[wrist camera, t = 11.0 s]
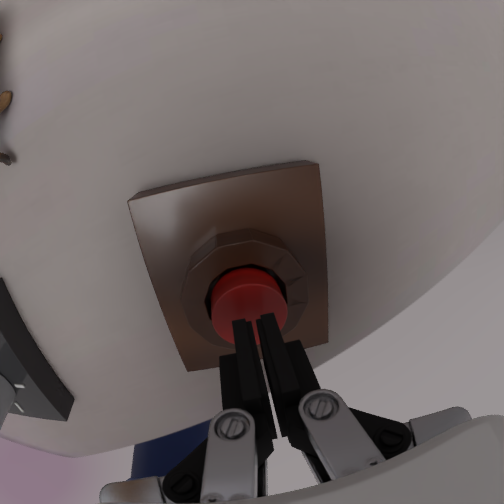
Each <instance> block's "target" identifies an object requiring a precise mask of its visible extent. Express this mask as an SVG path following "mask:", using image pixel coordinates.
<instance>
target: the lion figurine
mask: <svg viewBox="0 0 504 504" xmlns="http://www.w3.org/2000/svg"><path fill="white" fill-rule="evenodd" d="M1 39H2V35H1V34H0V41H1ZM10 101H11V92H10V91H5V92H3V93H2V94H1V95H0V113H1V112H2V111H3V110H5V109H6V108H7V106H8V105H9V103H10ZM0 162H3V163H4V164H6V165H8V166H9V165H11V160H10V158H9V156H8V155H6V154H4V153H0Z"/></svg>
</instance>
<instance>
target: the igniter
mask: <svg viewBox="0 0 504 504" xmlns="http://www.w3.org/2000/svg"><path fill="white" fill-rule="evenodd" d="M127 202H128V206H129V210H130V213H131V217H132V221H133V224H134V228H135V231H136V235H137V238H138V241H139V245H140V248H141V251H142V254H143V257H144V261H145V264H146V267H147V270H148V273H149V276H150V279H151V282H152V284H153V287H154V290H155V293H156V296H157V298H158V301H159V304H160V307H161V309H162V312H163V315H164V317H165V320H166V322H167V325H168V327H169V330H170V332H171V335H172V337H173V340H174V342H175V345H176V347H177V349H178V352H179V354H180V356H181V359H182V361H183V363H184V365H185V368H186V370H187V372H190V371H197V370H203V369H210V368H216V367H219V356H222V355H228V354H233V353H236V350H235V344H232V343H230V342H228V341H226V340H224V339H223V338H222V337H221V336H220V335H219V334H218V333H217V332H216V330H215V329H214V327H213V324H212V317H211V294H212V291H213V288H214V286H215V285H216V283H217V282H218V281H219V279H220V278H222V277H223V276H224V275H225V274H227V273H229V272H231V271H233V270H236V269H239V268H256V269H260V270H263V271H265V272H267V273H268V274H270V275H271V276H272V277H273V278H274V279H275V280H276V282H277V284H278V286H279V288H280V290H281V292H282V295H283V297H284V299H285V302H286V304H287V311H288V313H287V319H286V322H285V324H284V326H283V328H282V329H281V330H280V332H281V335H282V337H283V340H284V343H286V342H290V341H294V340H300V341H301V343H302V345H303V348H304V349H306V348H310V347H313V346H317V345H321V344H324V343H328V282H327V258H326V240H325V225H324V212H323V200H322V189H321V179H320V170H319V164H318V163H314V162H310V161H306V160H304V161H296V162H289V163H282V164H275V165H269V166H263V167H256V168H251V169H245V170H239V171H234V172H228V173H223V174H218V175H213V176H208V177H203V178H198V179H194V180H189V181H185V182H180V183H176V184H171V185H167V186H163V187H159V188H155V189H151V190H147V191H143V192H139V193H137V194H136V195H134V196H133V197H132V198H131V199H129V200H128V201H127ZM257 348H258V353H259V357H260V359H263V356H262V351H261V346H260V344H257Z"/></svg>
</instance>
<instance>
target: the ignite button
mask: <svg viewBox="0 0 504 504" xmlns="http://www.w3.org/2000/svg"><path fill="white" fill-rule="evenodd" d="M272 312H274V315H275V317H276V320H277V323H278V326H279V329H280V330H281V329H282V328H283V326H284V324H285V322H286V319H287V313H288V311H287V304H286V302H285V299H284V297H283V295H282V292H281V290H280V288H279V286H278V284H277V282H276V280H275V279H274V278H273V277H272V276H271V275H270V274H268V273H267V272H265V271H263V270H260V269H256V268H239V269H236V270H233V271H231V272H229V273H227V274H225V275H224V276H223V277H222V278H220V279H219V281H218V282H217V283H216V285H215V286H214V288H213V291H212V294H211V317H212V324H213V327H214V329H215V330H216V332H217V333H218V334H219V335H220V336H221V337H222V338H223V339H224V340H226V341H228V342H230V343H232V344H235V343H234V335H233V327H232V321H233V320H238V319H243V318H245V320H246V322H247V321H251V322H252V326H253V331H254V335H255V339H256V344H260V340H259V335H258V330H257V325H256V319H261V318H260V315H263V314H267V313H272Z"/></svg>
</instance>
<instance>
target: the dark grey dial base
mask: <svg viewBox="0 0 504 504" xmlns="http://www.w3.org/2000/svg"><path fill="white" fill-rule="evenodd" d="M0 374H1V375H2V376H3V377H4V378H5V379H6V380H7V381H8V382H9V383H10V384H11V386H12V387H13V389H14V390H15V393H16V397H15V399H14V401H13V403H12V405H11V407H10V409H9V412H8V413H13V414H18V415H23V416H29V417H36V418H42V419H50V420H58V421H67V420H68V417H69V414H70V411H71V408H72V405H73V402H74V398H73V397H72V396H71V394H70V393H69V392H68V391H67V389H66V388H65V387H64V385H63V384H62V383H61V381H60V380H59V378H58V377H57V376H56V374H55V373H54V371H53V370H52V368H51V367H50V365H49V364H48V363H47V361H46V360H45V358H44V356H43V355H42V353H41V352H40V350H39V349H38V347H37V345H36V344H35V342H34V340H33V339H32V337H31V335H30V334H29V332H28V330H27V328H26V326H25V325H24V323H23V321H22V319H21V317H20V315H19V313H18V312H17V310H16V308H15V306H14V304H13V302H12V300H11V297H10V295H9V293H8V291H7V289H6V287H5V284H4V282H3V280H2V278H0Z"/></svg>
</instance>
